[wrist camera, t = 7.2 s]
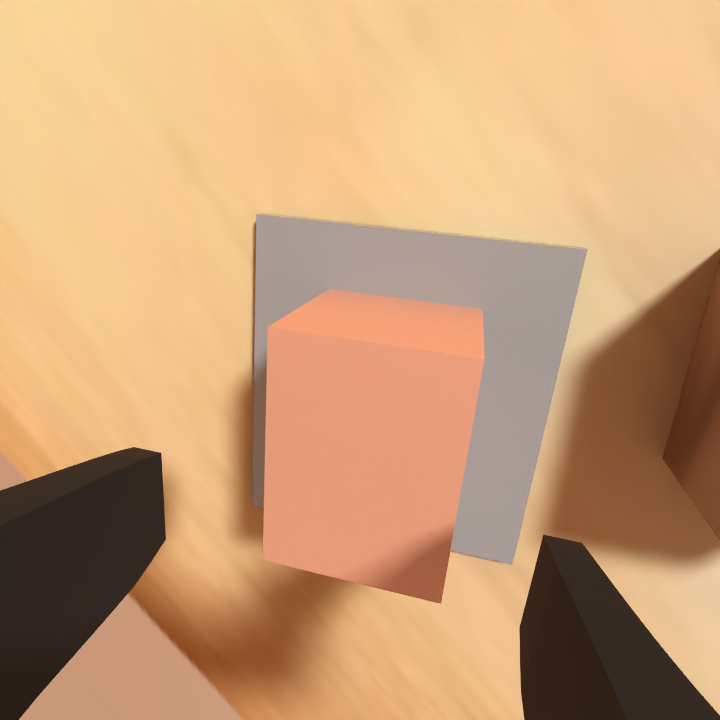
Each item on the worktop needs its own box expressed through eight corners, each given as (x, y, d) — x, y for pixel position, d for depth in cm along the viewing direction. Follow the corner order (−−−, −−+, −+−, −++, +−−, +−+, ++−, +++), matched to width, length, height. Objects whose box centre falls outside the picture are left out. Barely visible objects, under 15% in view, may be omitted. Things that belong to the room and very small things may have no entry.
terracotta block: (451, 494, 15) (441, 603, 11) (318, 467, 16) (262, 559, 12) (482, 309, 13) (484, 359, 9) (329, 289, 14) (267, 327, 10)
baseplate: (511, 556, 16) (512, 564, 16) (256, 499, 18) (252, 505, 17) (583, 248, 13) (587, 249, 12) (262, 213, 14) (256, 213, 14)
